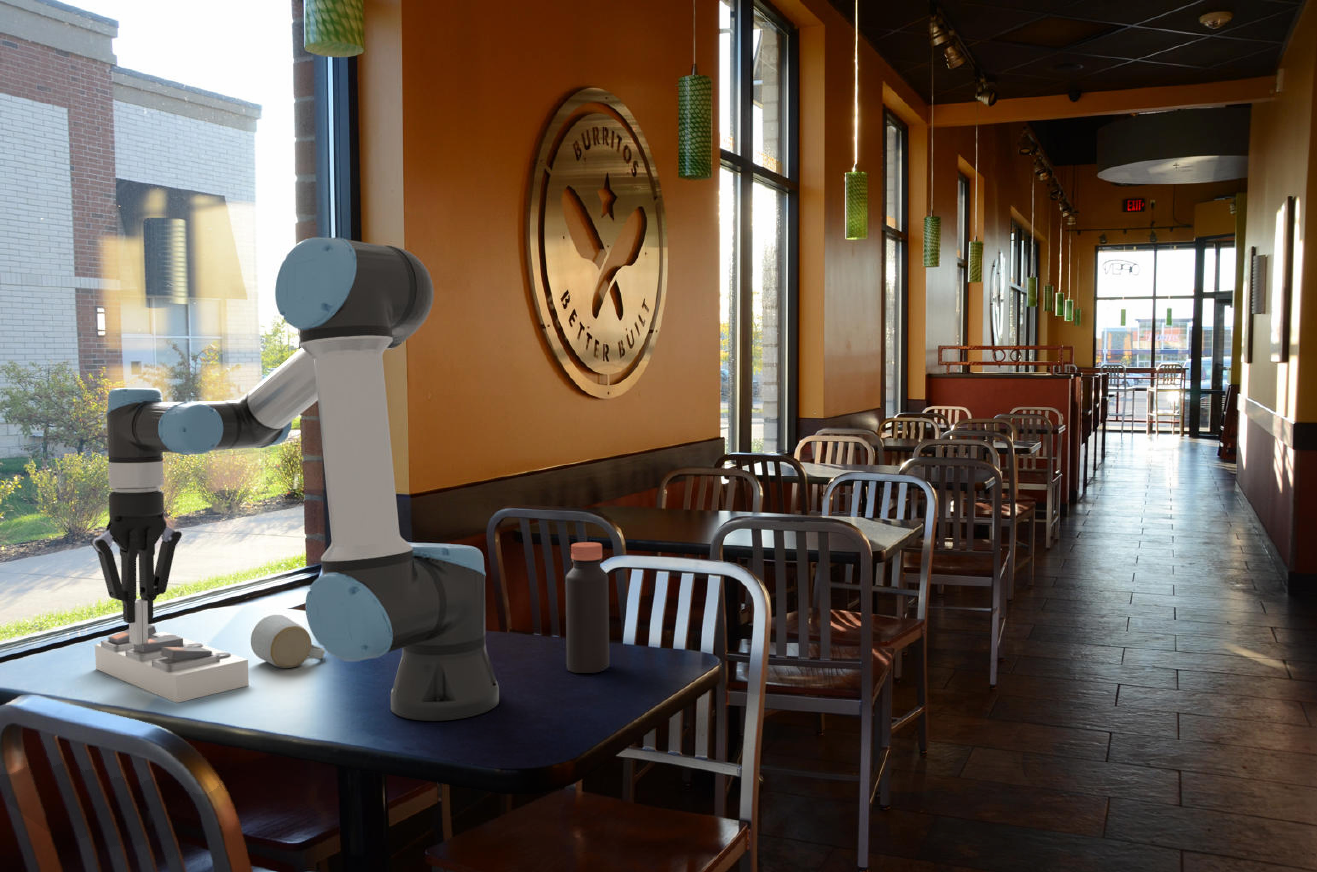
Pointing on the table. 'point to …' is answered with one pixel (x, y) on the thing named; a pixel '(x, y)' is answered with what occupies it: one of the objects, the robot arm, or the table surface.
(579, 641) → the bottle
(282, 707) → the table surface
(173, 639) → the rocker middle
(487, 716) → the table surface
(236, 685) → the white rocker switch box
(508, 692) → the table surface
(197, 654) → the rocker
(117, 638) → the rocker
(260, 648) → the ceramic mug
